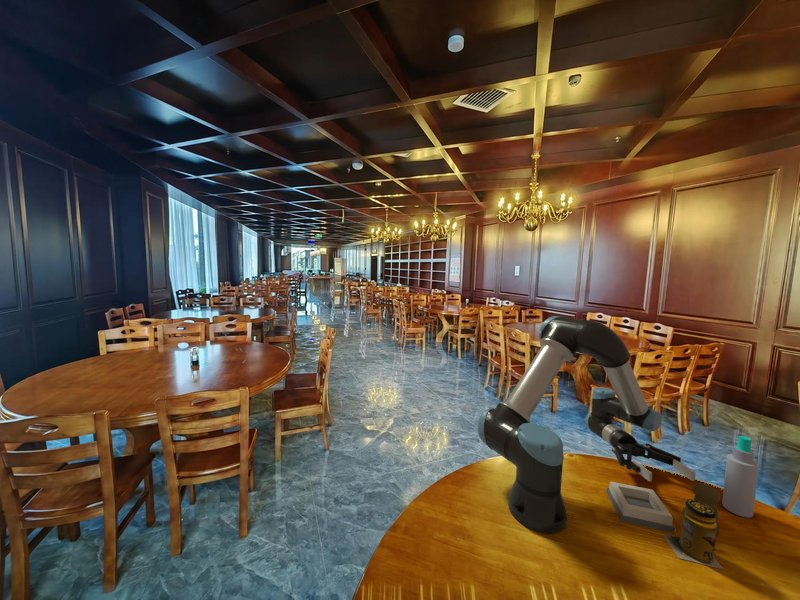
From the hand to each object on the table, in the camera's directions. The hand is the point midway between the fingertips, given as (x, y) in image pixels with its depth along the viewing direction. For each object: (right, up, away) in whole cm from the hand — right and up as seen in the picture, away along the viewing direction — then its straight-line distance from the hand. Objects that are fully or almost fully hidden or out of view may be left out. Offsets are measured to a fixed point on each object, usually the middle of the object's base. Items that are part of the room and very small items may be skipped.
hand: (672, 477), depth 92 cm
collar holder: (-14, -7, -5) cm, 17 cm away
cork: (0, -8, -9) cm, 12 cm away
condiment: (-11, -8, -17) cm, 22 cm away
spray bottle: (+15, -8, -4) cm, 18 cm away
